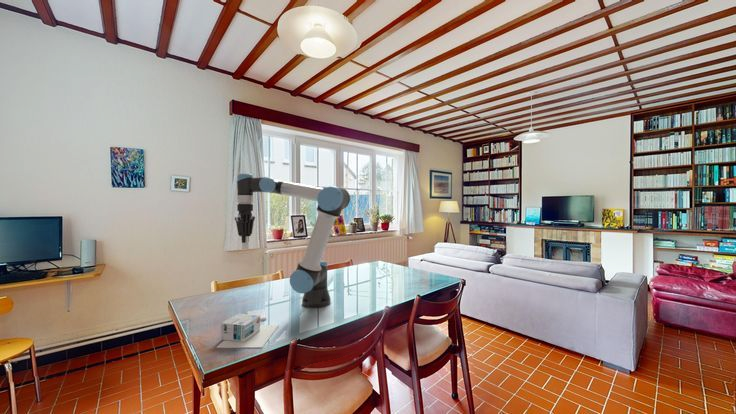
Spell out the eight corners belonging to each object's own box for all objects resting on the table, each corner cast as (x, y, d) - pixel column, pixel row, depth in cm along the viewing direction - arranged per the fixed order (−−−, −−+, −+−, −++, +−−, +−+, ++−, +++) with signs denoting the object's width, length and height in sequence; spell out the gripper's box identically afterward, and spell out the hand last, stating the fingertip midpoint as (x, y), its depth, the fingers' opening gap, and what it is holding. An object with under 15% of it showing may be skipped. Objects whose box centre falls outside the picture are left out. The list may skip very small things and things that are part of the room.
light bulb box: (219, 339, 108) (244, 343, 106) (220, 322, 108) (244, 325, 106) (238, 328, 119) (260, 331, 116) (238, 312, 119) (261, 315, 116)
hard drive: (247, 311, 136) (247, 320, 125) (265, 308, 139) (266, 317, 128) (247, 314, 136) (247, 324, 125) (265, 312, 139) (266, 321, 128)
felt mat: (278, 325, 122) (278, 325, 122) (262, 347, 103) (262, 347, 103) (240, 325, 122) (240, 325, 122) (216, 347, 103) (216, 347, 103)
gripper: (247, 203, 152) (247, 246, 152) (229, 203, 139) (230, 250, 139) (259, 203, 150) (259, 247, 150) (242, 203, 137) (242, 251, 137)
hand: (245, 248), depth 145 cm, fingers closed
